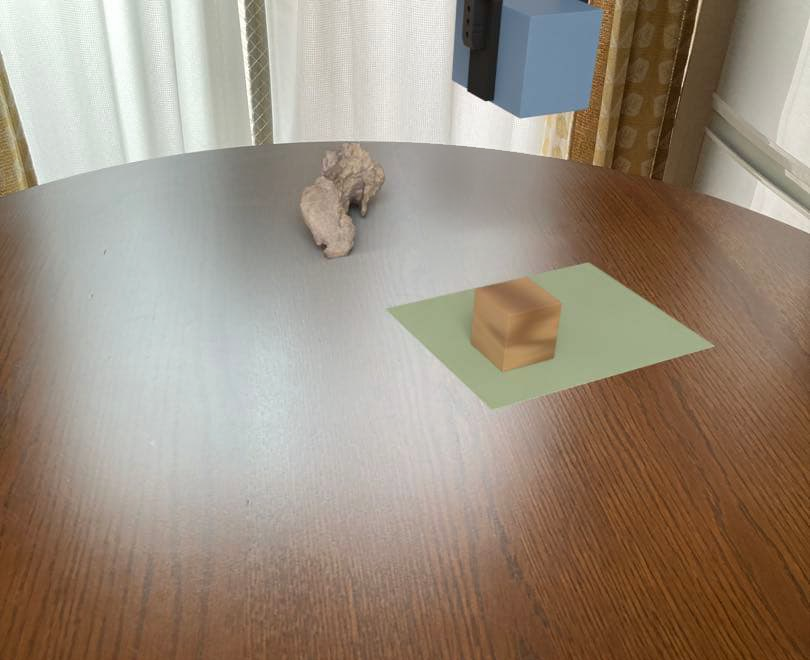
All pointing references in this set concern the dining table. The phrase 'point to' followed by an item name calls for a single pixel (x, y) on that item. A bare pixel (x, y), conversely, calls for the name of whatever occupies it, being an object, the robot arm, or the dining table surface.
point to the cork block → (515, 323)
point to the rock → (340, 196)
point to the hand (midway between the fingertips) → (518, 90)
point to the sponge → (539, 56)
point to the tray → (576, 340)
